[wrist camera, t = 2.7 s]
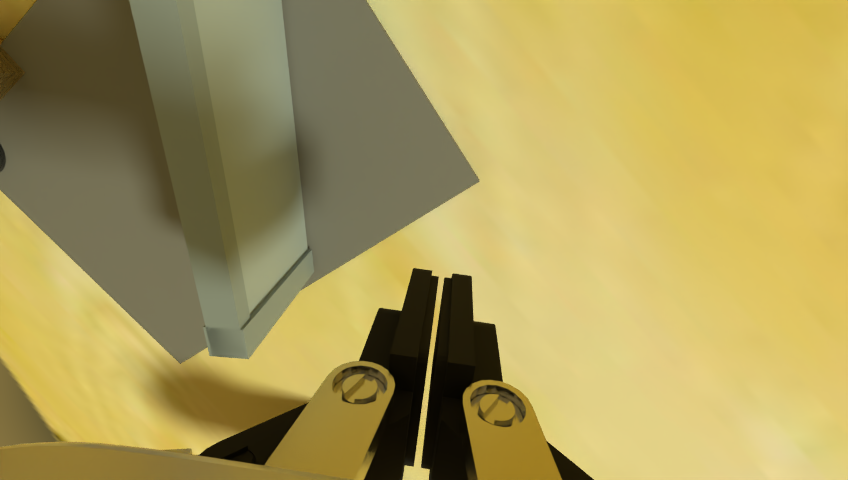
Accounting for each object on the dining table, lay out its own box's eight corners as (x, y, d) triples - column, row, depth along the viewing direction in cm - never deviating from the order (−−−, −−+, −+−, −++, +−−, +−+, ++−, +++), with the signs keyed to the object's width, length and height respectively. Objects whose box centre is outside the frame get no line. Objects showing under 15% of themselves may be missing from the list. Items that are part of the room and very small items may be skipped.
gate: (240, -78, 14) (81, -184, 8) (278, -79, 14) (144, -186, 8) (286, 270, 20) (209, 355, 14) (314, 271, 20) (248, 358, 14)
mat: (228, -219, 13) (223, -225, 13) (479, 179, 18) (479, 181, 17) (-59, 124, 19) (-67, 125, 19) (183, 360, 23) (180, 363, 23)
